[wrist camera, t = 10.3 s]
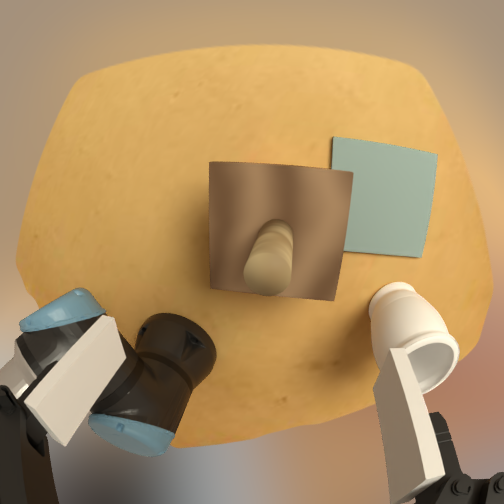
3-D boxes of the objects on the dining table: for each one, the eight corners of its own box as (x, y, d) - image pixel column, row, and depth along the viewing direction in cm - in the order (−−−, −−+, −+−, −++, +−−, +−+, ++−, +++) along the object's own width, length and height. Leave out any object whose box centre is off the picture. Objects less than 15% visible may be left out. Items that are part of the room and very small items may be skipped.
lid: (213, 283, 33) (182, 336, 23) (212, 161, 27) (170, 172, 18) (333, 295, 31) (343, 355, 22) (351, 171, 26) (380, 187, 16)
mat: (323, 247, 38) (324, 249, 37) (332, 136, 32) (333, 136, 31) (419, 256, 36) (421, 257, 35) (435, 154, 30) (437, 154, 29)
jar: (378, 266, 37) (412, 329, 24) (432, 283, 37) (474, 341, 23) (351, 324, 42) (366, 396, 28) (403, 336, 41) (428, 401, 27)
